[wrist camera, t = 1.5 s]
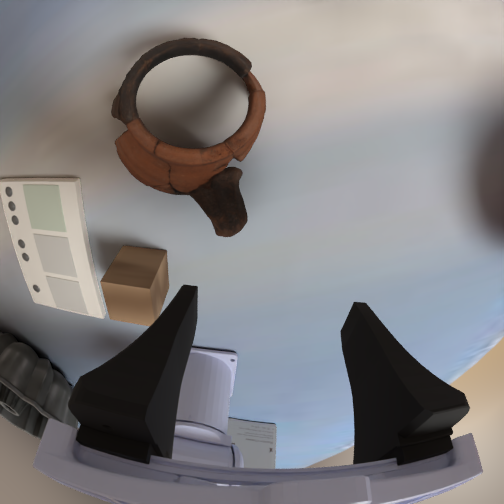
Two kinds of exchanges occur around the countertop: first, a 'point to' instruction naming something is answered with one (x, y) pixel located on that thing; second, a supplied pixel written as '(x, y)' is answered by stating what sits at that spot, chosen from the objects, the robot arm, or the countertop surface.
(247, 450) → the skincare box
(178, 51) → the pottery mug
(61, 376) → the bundt pan
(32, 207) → the board
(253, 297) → the countertop surface
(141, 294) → the walnut block
